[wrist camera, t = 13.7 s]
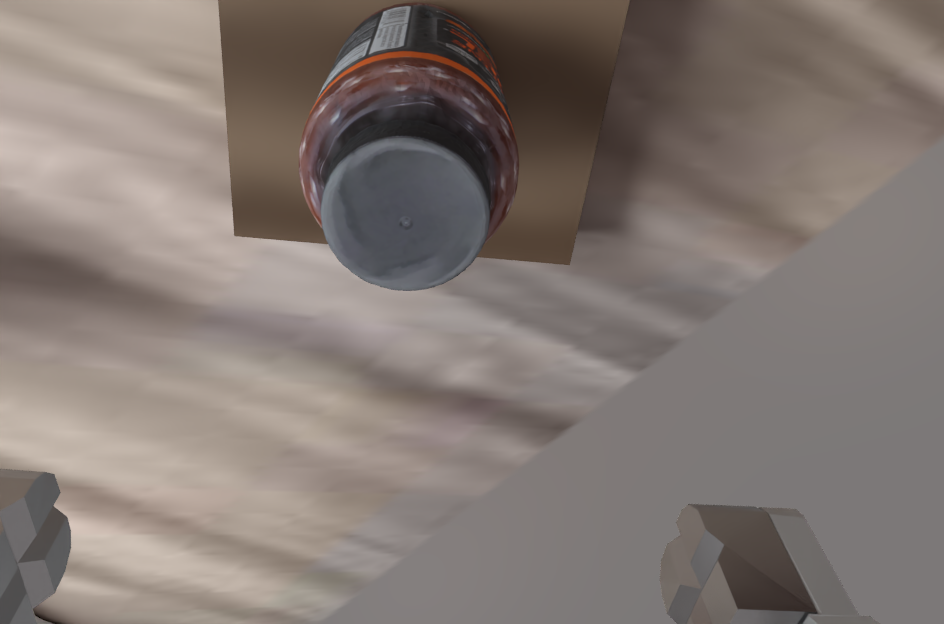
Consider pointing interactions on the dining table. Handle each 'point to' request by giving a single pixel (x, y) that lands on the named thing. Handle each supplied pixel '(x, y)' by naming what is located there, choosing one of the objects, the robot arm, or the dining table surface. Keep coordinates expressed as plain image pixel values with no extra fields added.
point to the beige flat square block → (523, 81)
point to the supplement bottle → (410, 149)
